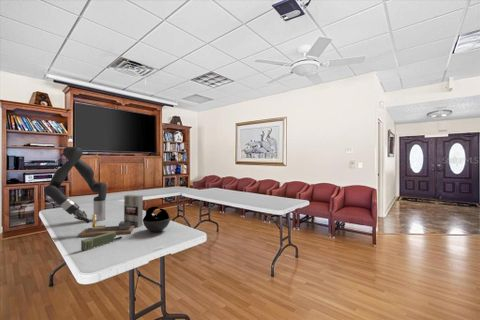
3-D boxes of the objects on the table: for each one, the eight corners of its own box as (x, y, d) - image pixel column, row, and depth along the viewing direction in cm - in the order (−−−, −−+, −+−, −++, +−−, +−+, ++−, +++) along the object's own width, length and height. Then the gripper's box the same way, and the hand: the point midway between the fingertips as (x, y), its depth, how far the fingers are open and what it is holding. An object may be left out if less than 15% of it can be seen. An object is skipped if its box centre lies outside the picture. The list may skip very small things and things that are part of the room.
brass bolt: (92, 230, 171) (92, 214, 170) (105, 229, 173) (105, 213, 173) (91, 231, 168) (91, 215, 168) (104, 230, 170) (104, 214, 170)
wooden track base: (85, 231, 174) (85, 226, 174) (134, 227, 183) (134, 223, 183) (78, 237, 161) (78, 232, 161) (130, 233, 170) (130, 228, 170)
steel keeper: (120, 227, 177) (120, 221, 177) (130, 227, 179) (130, 220, 179) (118, 230, 171) (118, 223, 171) (129, 229, 173) (129, 223, 173)
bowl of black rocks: (143, 228, 183) (143, 204, 182) (169, 226, 190) (169, 203, 189) (142, 236, 164) (142, 210, 164) (171, 233, 171) (171, 208, 171)
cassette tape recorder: (123, 226, 188) (123, 195, 188) (128, 223, 194) (128, 194, 194) (137, 227, 185) (137, 196, 185) (142, 225, 191) (142, 195, 191)
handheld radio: (80, 250, 140) (120, 238, 161) (83, 252, 138) (123, 239, 159) (80, 239, 139) (120, 229, 160) (83, 241, 138) (123, 230, 159)
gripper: (70, 204, 159) (90, 221, 163) (78, 201, 172) (96, 216, 176) (61, 212, 158) (81, 229, 162) (69, 208, 171) (88, 223, 174)
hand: (89, 222), depth 169 cm, fingers closed
